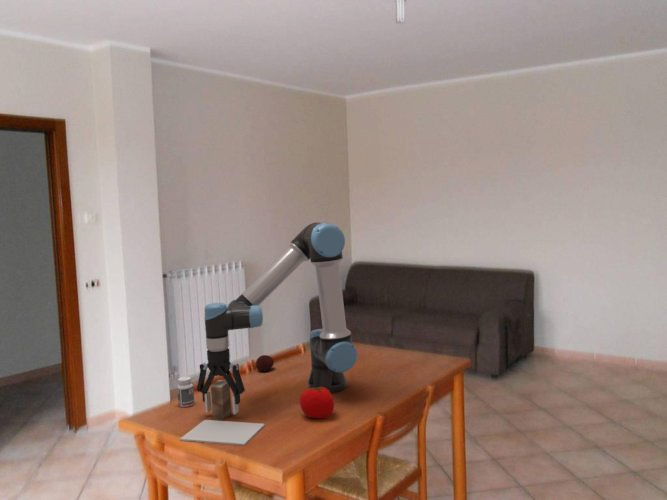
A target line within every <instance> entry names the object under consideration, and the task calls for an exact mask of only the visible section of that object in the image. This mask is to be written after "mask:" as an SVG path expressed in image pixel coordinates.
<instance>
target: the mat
mask: <svg viewBox="0 0 667 500" xmlns="http://www.w3.org/2000/svg"><path fill="white" fill-rule="evenodd" d="M265 426H266V424H265V423H259V422H258V423H256V422H243V421H242V422H241V421H226V420H213V419H204V420H203V421H201V422H200V423H199V424H197V425H196V426H195V427H193V428H192V429H190V431H188V432H187V433H186V434H184V435H183V436H182V437H180V438H179V442H180V441H181V442H190V441H193V442H192V443H194V441H195V443H202V442H204V443H205V444H214V445H215V444H216V445H217V444H218V445H228V446H229V445H230V446H241V447H242V446H243V447H244V446H246V445H247V444H248V443H249V442H250V441H251V440H252V439H253V438H254V437H255V436H256V435H258V433H259V432H260V431H261V430H262V429H263V428H264V427H265Z"/></svg>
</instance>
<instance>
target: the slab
mask: <svg viewBox="0 0 667 500" xmlns="http://www.w3.org/2000/svg"><path fill="white" fill-rule="evenodd" d="M210 396H211V411H212V420H215V421H226V419H228V418H229V417H230V416H231V415H233V411H232V396H231V388H230V386H229V385H228V383H227V381H226V379H218V380H217V381H215V382H214V383H211V385H210Z"/></svg>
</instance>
